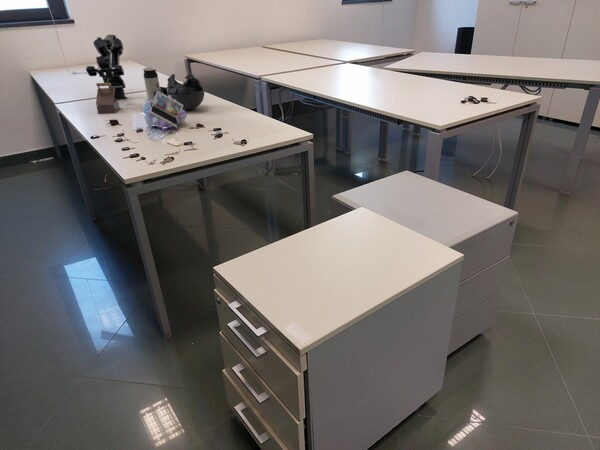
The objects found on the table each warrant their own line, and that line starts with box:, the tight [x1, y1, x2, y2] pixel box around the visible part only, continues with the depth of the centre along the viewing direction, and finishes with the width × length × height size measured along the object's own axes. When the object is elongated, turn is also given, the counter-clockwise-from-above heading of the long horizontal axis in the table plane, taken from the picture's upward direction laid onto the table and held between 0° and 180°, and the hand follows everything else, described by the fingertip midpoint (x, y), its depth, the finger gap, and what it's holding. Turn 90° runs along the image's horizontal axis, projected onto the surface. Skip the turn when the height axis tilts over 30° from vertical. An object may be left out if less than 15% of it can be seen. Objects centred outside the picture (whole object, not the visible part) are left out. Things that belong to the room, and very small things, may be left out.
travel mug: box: [142, 67, 161, 101], centre depth 250 cm, size 8×8×18 cm
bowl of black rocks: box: [166, 73, 205, 111], centre depth 230 cm, size 20×20×19 cm
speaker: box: [153, 86, 168, 97], centre depth 239 cm, size 8×6×10 cm
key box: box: [95, 99, 120, 115], centre depth 231 cm, size 11×9×5 cm
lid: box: [95, 82, 115, 105], centre depth 226 cm, size 12×9×6 cm
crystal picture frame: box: [142, 90, 187, 131], centre depth 204 cm, size 20×22×18 cm
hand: (105, 84), depth 230 cm, fingers closed
